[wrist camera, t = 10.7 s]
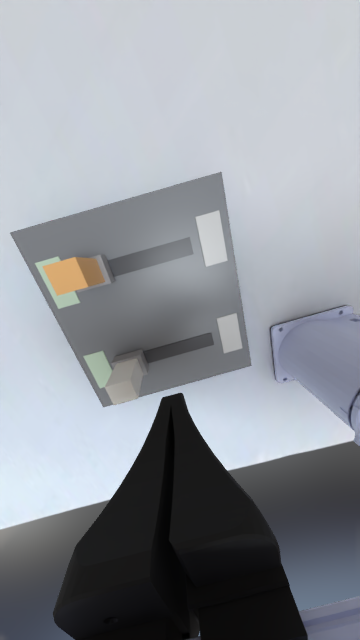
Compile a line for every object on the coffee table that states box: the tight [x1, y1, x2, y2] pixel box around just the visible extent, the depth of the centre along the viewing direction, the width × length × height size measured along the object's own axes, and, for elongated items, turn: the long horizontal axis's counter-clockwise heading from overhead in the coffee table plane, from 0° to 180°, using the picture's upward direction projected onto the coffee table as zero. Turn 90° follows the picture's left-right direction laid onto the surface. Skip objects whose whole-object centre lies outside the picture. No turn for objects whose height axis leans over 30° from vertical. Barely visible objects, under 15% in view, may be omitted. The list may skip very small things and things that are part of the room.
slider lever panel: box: [10, 172, 251, 407], centre depth 17 cm, size 17×18×2 cm
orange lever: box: [42, 255, 115, 296], centre depth 12 cm, size 3×2×4 cm
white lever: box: [105, 349, 149, 405], centre depth 15 cm, size 3×2×4 cm
